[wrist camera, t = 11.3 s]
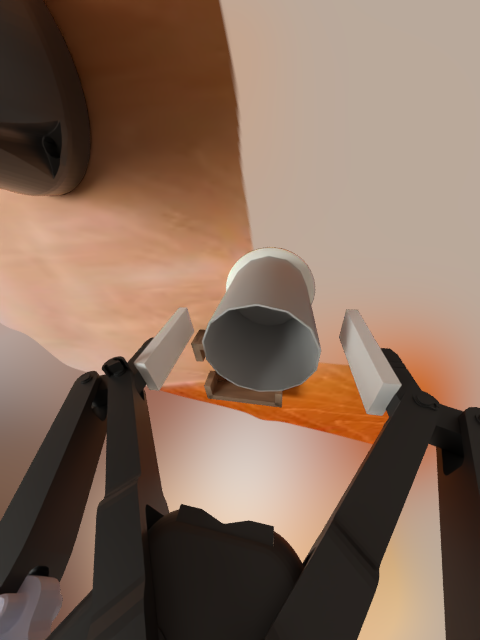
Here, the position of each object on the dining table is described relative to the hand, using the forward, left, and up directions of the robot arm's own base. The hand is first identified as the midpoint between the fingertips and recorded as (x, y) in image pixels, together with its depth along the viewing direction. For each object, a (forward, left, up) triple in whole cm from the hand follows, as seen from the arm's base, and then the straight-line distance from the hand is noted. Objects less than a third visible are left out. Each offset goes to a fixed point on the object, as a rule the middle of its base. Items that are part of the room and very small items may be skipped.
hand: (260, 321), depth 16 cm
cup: (0, 0, -7) cm, 7 cm away
